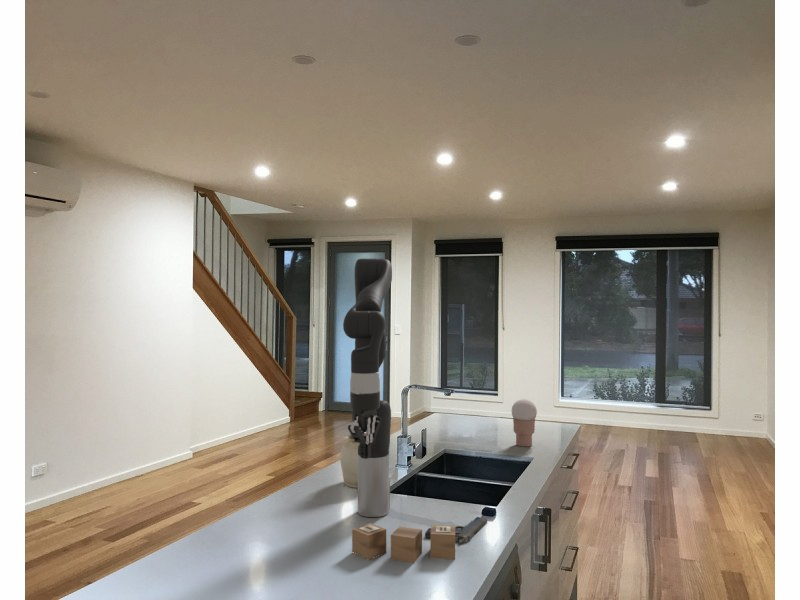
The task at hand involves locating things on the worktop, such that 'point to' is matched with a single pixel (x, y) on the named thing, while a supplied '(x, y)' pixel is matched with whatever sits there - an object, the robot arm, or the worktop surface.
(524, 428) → the ice cream cone
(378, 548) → the labelled block
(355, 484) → the jug
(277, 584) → the worktop surface
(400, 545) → the plain block
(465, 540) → the pistol
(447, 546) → the labelled block
